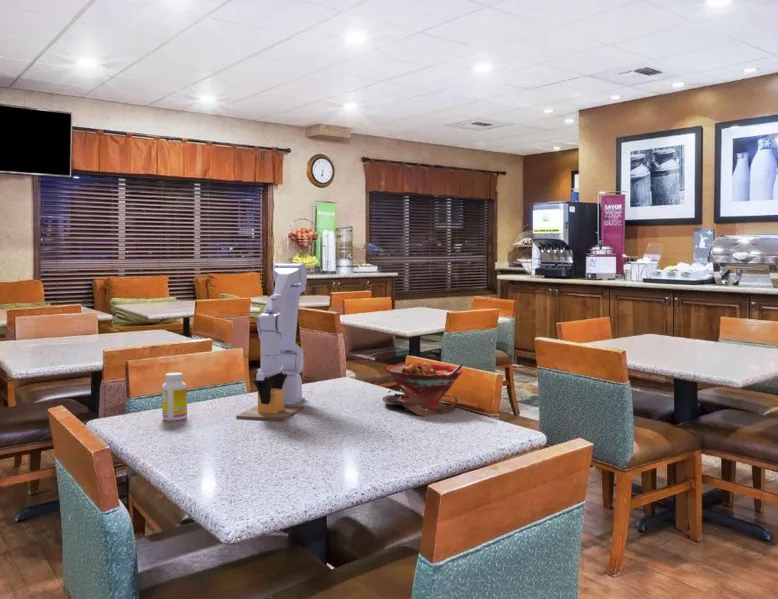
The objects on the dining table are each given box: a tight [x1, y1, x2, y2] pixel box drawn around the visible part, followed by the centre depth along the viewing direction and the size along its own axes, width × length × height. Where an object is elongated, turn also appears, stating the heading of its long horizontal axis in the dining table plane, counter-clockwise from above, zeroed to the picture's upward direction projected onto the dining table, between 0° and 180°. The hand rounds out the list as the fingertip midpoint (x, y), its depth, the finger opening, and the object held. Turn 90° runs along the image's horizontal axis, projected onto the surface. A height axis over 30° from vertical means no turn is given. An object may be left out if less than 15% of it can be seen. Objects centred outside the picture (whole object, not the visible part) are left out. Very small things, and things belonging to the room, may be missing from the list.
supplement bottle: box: [161, 372, 188, 422], centre depth 186 cm, size 7×7×13 cm
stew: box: [382, 360, 466, 417], centre depth 200 cm, size 28×24×16 cm
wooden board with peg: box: [235, 404, 305, 422], centre depth 192 cm, size 16×14×6 cm
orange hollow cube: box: [257, 388, 285, 413], centre depth 192 cm, size 6×6×6 cm
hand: (270, 400), depth 192 cm, fingers open, 7 cm apart
